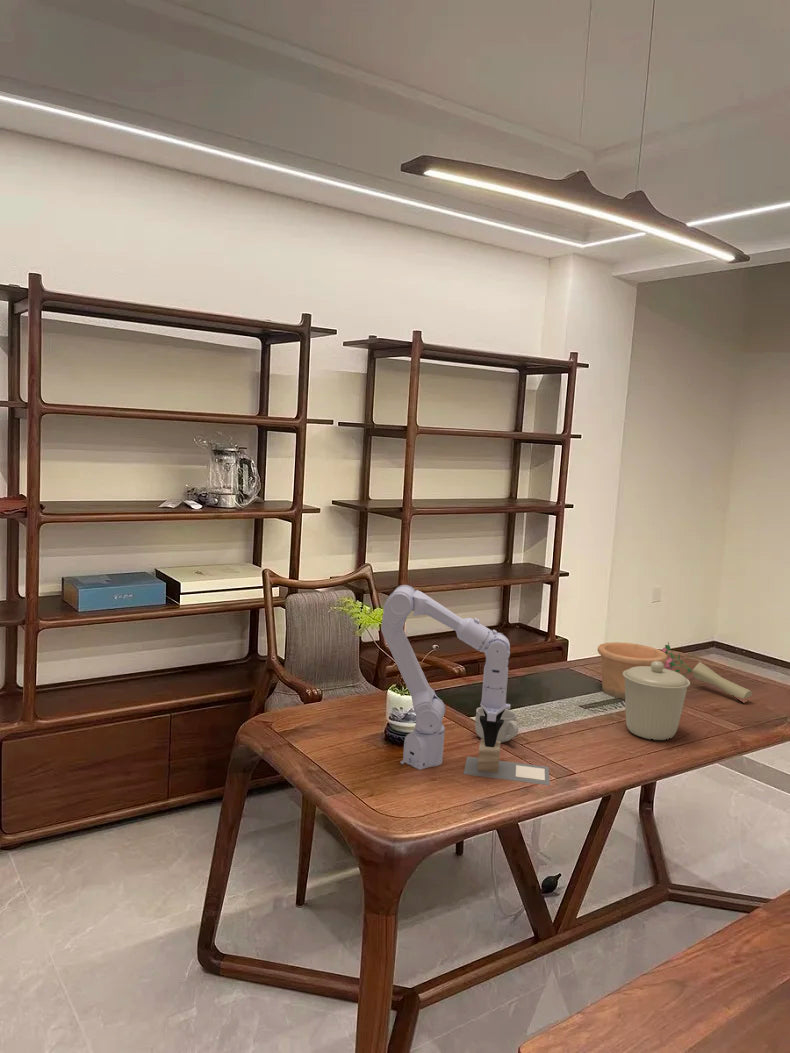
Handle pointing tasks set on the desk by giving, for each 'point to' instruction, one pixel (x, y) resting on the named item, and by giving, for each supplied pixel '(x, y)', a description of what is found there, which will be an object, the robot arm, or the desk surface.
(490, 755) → the tan u-shaped block
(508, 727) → the teacup
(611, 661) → the pottery
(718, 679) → the flower vase
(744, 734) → the desk surface
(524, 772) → the board
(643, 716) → the canister
